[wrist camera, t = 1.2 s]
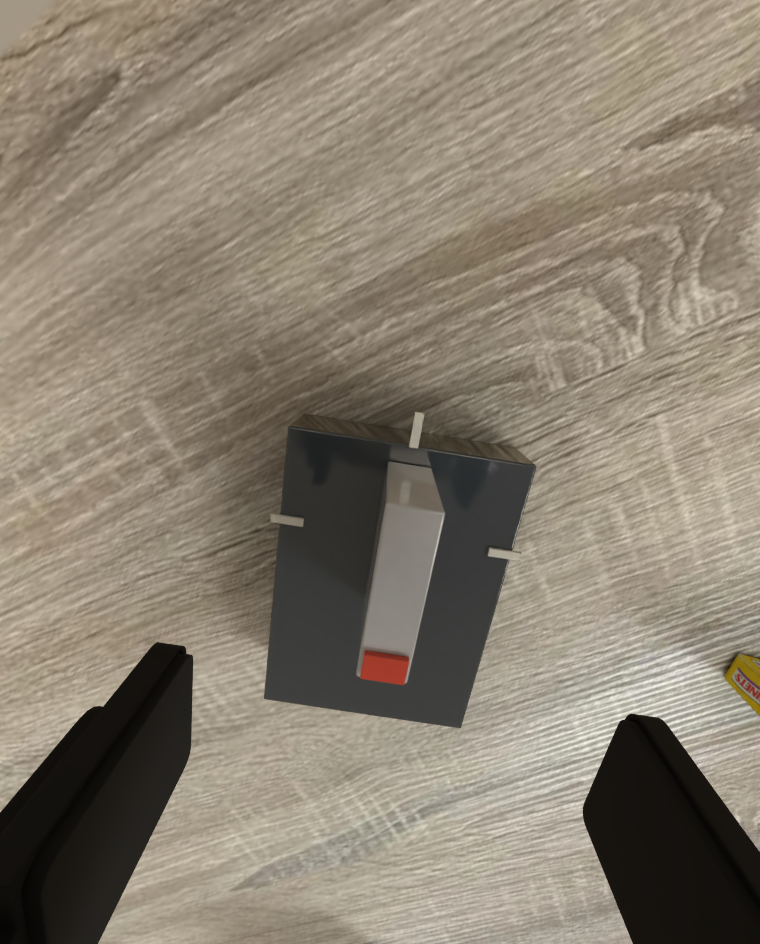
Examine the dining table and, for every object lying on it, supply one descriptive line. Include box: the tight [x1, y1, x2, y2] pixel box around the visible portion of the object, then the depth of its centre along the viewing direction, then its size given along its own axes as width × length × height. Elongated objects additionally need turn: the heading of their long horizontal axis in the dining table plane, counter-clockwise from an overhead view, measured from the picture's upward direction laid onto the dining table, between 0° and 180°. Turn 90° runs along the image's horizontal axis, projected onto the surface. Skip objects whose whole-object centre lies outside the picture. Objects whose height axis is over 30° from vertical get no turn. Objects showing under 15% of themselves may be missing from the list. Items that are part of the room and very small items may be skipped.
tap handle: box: [356, 462, 445, 685], centre depth 15 cm, size 6×2×5 cm, turn 171°
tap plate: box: [264, 412, 536, 728], centre depth 19 cm, size 15×11×3 cm
